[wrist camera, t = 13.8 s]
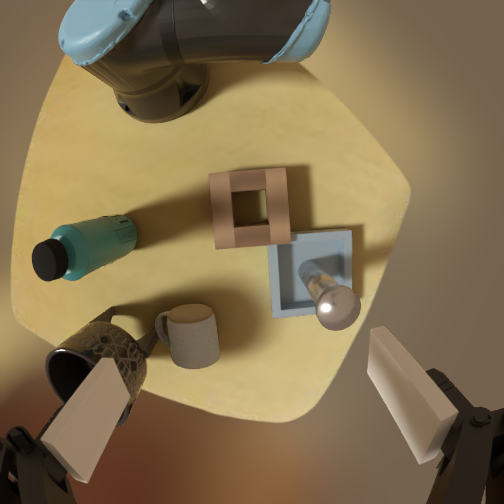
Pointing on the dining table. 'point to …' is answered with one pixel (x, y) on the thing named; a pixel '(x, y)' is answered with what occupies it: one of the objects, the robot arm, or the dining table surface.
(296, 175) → the dining table surface
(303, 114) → the dining table surface
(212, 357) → the ceramic mug
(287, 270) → the tray
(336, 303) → the pin
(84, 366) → the planter
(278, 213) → the block
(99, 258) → the beverage bottle
